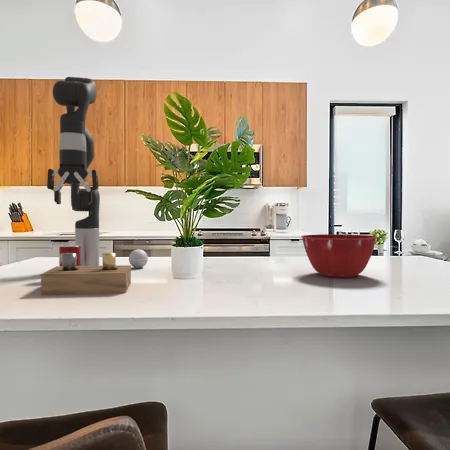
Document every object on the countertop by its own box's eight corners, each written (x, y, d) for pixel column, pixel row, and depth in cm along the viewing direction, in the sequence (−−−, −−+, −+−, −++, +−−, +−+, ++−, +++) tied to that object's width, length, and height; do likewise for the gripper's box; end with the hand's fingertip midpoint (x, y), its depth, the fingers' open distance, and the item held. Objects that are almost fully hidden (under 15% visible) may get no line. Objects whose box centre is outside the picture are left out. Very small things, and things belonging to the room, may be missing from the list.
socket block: (56, 284, 129) (56, 266, 129) (130, 282, 133) (130, 265, 133) (41, 294, 113) (41, 274, 113) (125, 292, 117) (125, 272, 117)
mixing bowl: (293, 278, 144) (294, 236, 144) (307, 268, 171) (308, 232, 170) (375, 284, 134) (376, 239, 133) (377, 272, 160) (377, 234, 159)
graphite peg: (64, 271, 124) (64, 253, 123) (77, 271, 124) (77, 252, 124) (61, 273, 120) (60, 254, 120) (74, 273, 120) (74, 254, 120)
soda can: (73, 281, 135) (73, 246, 135) (54, 280, 137) (54, 246, 136) (85, 277, 142) (85, 244, 142) (67, 276, 144) (67, 244, 143)
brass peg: (103, 271, 125) (103, 252, 125) (116, 271, 126) (116, 252, 126) (101, 273, 121) (101, 254, 121) (114, 273, 122) (114, 254, 122)
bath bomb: (130, 266, 171) (130, 248, 171) (148, 266, 172) (148, 248, 171) (127, 269, 163) (127, 250, 163) (147, 269, 164) (146, 250, 164)
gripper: (100, 152, 121) (100, 204, 122) (51, 151, 119) (52, 204, 120) (95, 148, 114) (95, 204, 114) (43, 147, 112) (44, 204, 113)
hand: (73, 204), depth 117 cm, fingers open, 8 cm apart
